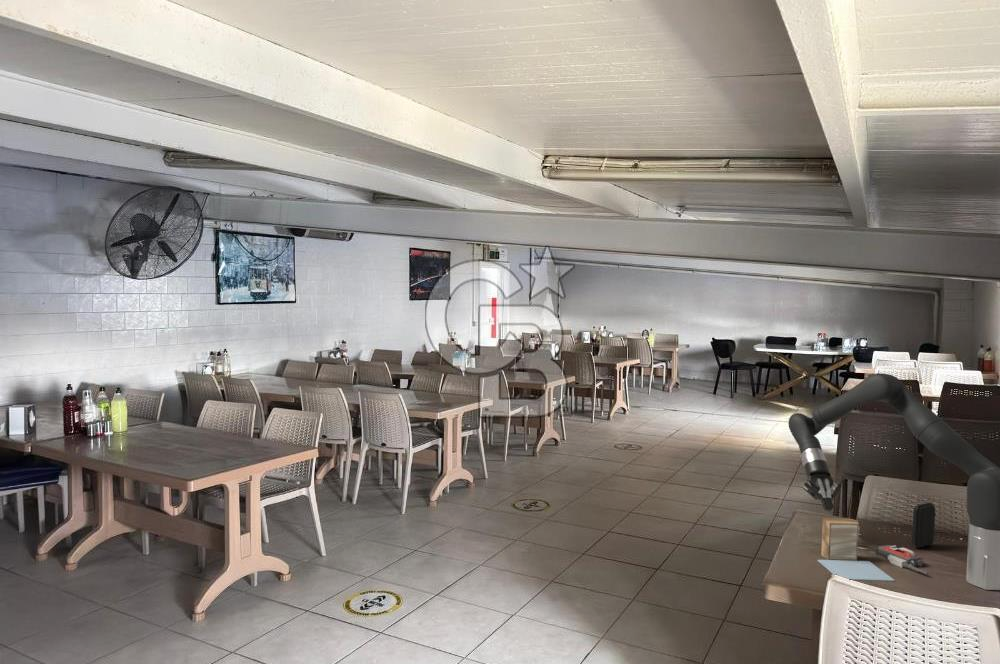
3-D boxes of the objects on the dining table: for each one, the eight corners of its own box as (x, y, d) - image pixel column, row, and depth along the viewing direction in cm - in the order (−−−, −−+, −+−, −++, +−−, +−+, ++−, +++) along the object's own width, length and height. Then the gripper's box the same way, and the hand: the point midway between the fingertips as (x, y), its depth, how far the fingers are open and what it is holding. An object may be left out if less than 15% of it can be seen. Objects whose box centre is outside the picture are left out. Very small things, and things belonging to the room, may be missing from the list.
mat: (894, 581, 206) (894, 580, 206) (839, 579, 206) (839, 578, 206) (869, 562, 221) (869, 561, 221) (817, 560, 221) (817, 559, 221)
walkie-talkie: (868, 555, 228) (925, 579, 209) (869, 542, 228) (925, 564, 209) (888, 552, 231) (946, 575, 212) (889, 539, 231) (946, 561, 212)
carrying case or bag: (928, 543, 240) (930, 500, 239) (937, 545, 237) (939, 502, 237) (909, 547, 235) (911, 504, 234) (918, 550, 232) (920, 506, 232)
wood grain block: (857, 561, 221) (858, 523, 221) (828, 560, 221) (829, 522, 221) (849, 555, 226) (851, 518, 226) (821, 554, 226) (822, 517, 226)
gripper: (799, 458, 241) (812, 504, 229) (838, 459, 240) (853, 505, 229) (792, 469, 246) (805, 515, 234) (830, 470, 246) (845, 516, 234)
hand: (829, 510), depth 232 cm, fingers closed
